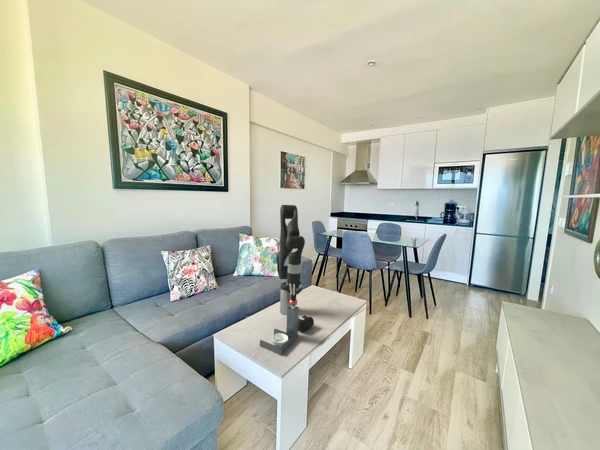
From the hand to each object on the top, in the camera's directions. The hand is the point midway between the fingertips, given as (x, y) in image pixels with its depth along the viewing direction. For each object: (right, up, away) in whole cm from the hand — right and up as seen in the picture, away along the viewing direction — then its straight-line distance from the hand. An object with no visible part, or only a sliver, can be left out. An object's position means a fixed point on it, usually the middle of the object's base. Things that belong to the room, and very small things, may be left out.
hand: (293, 300), depth 139 cm
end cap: (+7, -22, +12) cm, 26 cm away
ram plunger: (0, -11, +2) cm, 11 cm away
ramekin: (-7, -24, -5) cm, 25 cm away
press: (-7, -23, -1) cm, 24 cm away
